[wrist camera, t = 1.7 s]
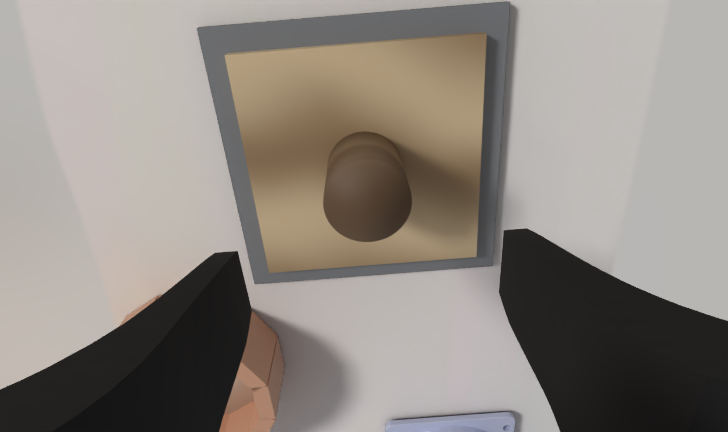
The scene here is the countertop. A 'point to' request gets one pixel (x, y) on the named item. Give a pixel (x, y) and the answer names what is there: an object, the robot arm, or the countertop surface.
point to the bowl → (252, 380)
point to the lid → (363, 149)
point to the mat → (353, 31)
